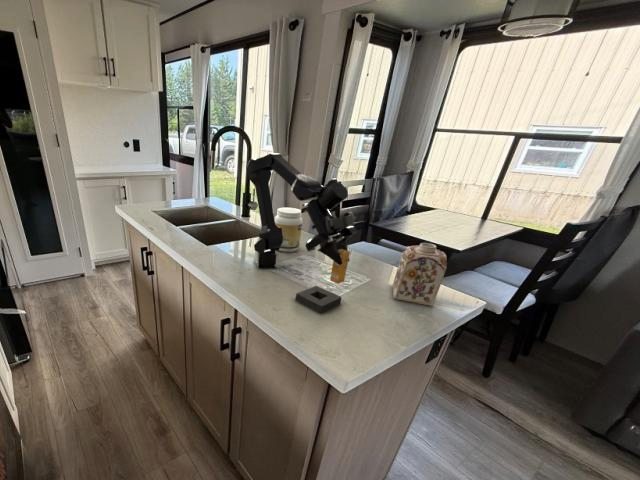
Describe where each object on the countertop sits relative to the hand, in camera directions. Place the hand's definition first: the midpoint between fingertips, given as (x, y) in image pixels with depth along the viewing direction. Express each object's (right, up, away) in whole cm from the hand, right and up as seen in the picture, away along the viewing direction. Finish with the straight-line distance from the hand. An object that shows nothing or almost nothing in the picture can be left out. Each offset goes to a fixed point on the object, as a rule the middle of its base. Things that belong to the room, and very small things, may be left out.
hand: (344, 263), depth 98 cm
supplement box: (-1, -5, +4) cm, 7 cm away
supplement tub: (-11, +12, +49) cm, 52 cm away
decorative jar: (+27, -10, +12) cm, 31 cm away
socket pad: (-7, -12, +5) cm, 15 cm away
